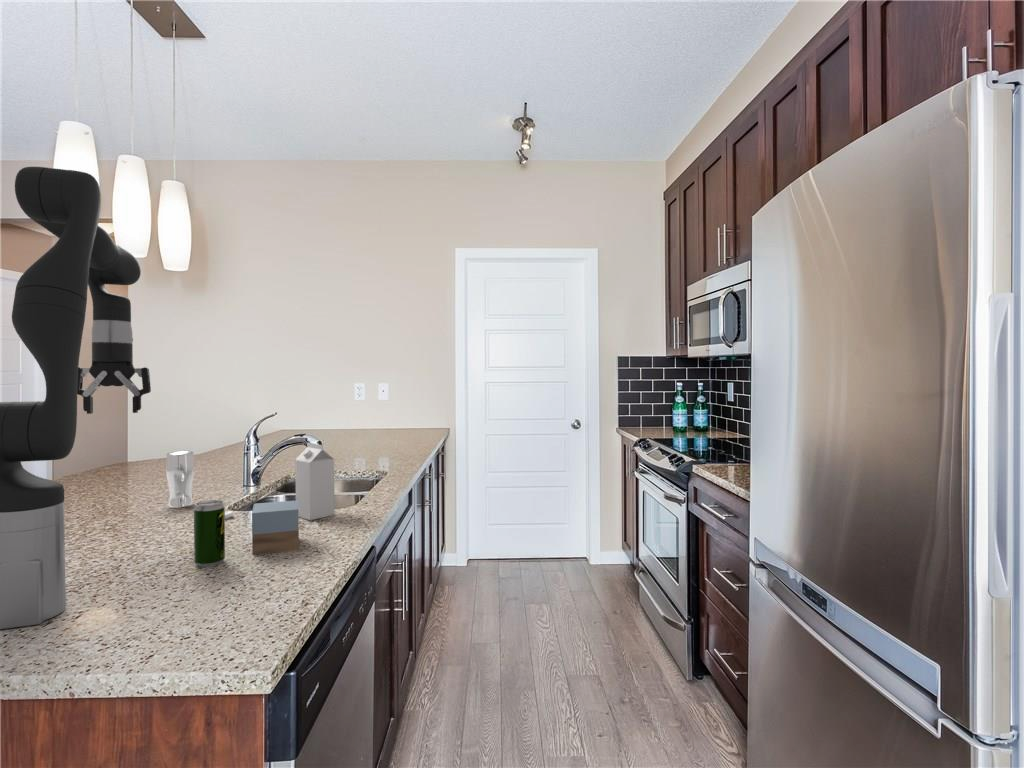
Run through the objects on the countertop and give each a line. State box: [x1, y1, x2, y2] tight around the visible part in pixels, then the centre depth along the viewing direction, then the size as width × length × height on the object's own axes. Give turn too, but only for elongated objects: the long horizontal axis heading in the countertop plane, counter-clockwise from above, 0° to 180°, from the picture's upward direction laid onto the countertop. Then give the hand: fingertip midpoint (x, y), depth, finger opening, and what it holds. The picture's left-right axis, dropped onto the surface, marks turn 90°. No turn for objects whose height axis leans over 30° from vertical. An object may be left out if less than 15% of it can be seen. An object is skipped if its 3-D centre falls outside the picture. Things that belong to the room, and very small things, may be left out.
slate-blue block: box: [251, 499, 300, 536], centre depth 122 cm, size 9×9×4 cm
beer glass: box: [165, 450, 195, 509], centre depth 159 cm, size 7×7×15 cm
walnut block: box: [251, 530, 300, 555], centre depth 122 cm, size 9×9×4 cm
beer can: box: [193, 499, 226, 568], centre depth 111 cm, size 5×5×12 cm
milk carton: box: [295, 442, 335, 521], centre depth 147 cm, size 7×7×19 cm
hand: (113, 413), depth 127 cm, fingers open, 8 cm apart
